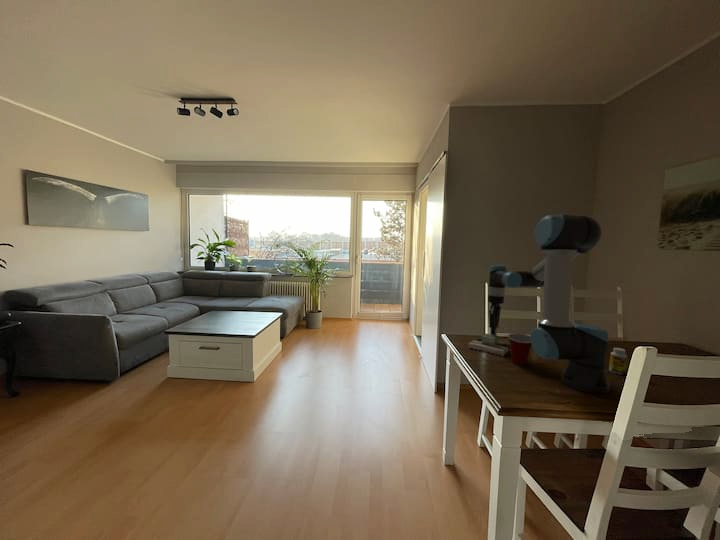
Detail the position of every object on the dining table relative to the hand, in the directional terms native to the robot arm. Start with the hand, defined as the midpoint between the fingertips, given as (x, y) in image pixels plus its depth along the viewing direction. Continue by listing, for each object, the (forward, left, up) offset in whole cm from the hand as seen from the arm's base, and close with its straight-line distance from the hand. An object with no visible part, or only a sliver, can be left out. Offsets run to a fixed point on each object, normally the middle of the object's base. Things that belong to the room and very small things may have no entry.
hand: (493, 339), depth 168 cm
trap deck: (-2, 0, -4) cm, 4 cm away
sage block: (-4, 0, -1) cm, 4 cm away
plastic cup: (-16, -16, -4) cm, 23 cm away
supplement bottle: (+2, -51, -4) cm, 51 cm away
